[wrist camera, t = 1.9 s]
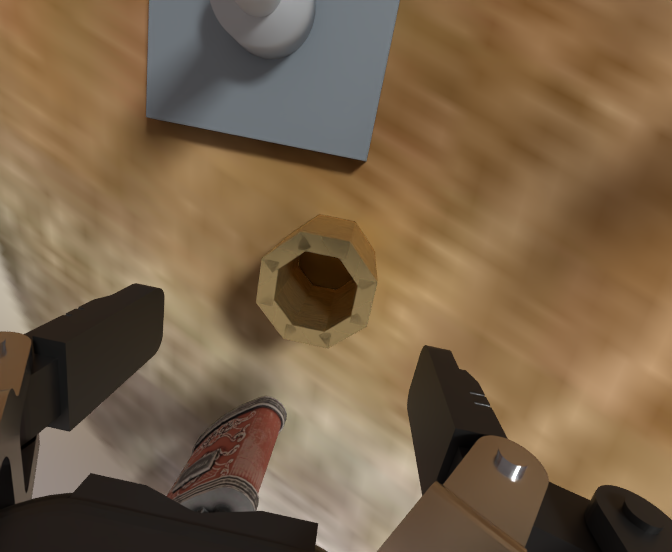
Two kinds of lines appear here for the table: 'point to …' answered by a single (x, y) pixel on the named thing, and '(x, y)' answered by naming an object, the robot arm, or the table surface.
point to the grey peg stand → (272, 69)
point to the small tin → (231, 459)
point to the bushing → (314, 301)
